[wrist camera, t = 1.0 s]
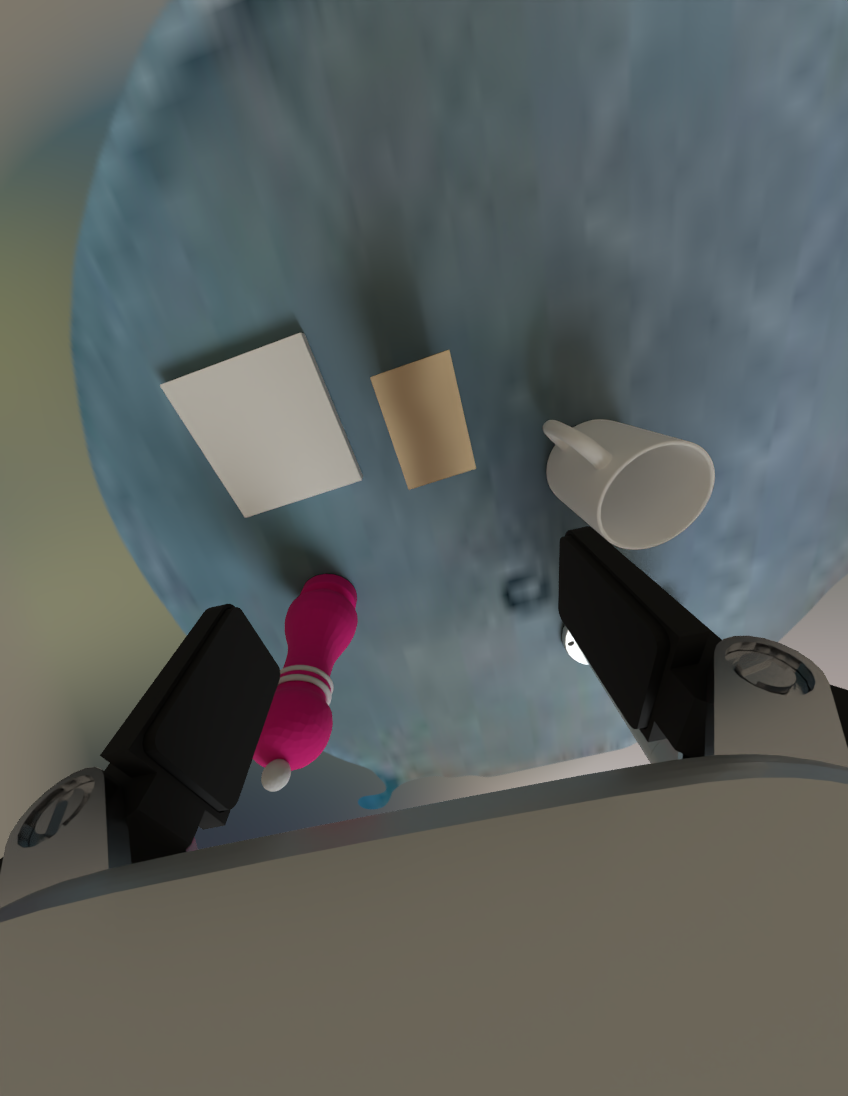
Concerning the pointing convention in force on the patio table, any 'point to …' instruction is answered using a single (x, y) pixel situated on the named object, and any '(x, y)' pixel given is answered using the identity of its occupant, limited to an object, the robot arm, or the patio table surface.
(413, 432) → the pegged wooden block
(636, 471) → the cup
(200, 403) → the tile
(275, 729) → the pepper mill
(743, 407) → the patio table surface
